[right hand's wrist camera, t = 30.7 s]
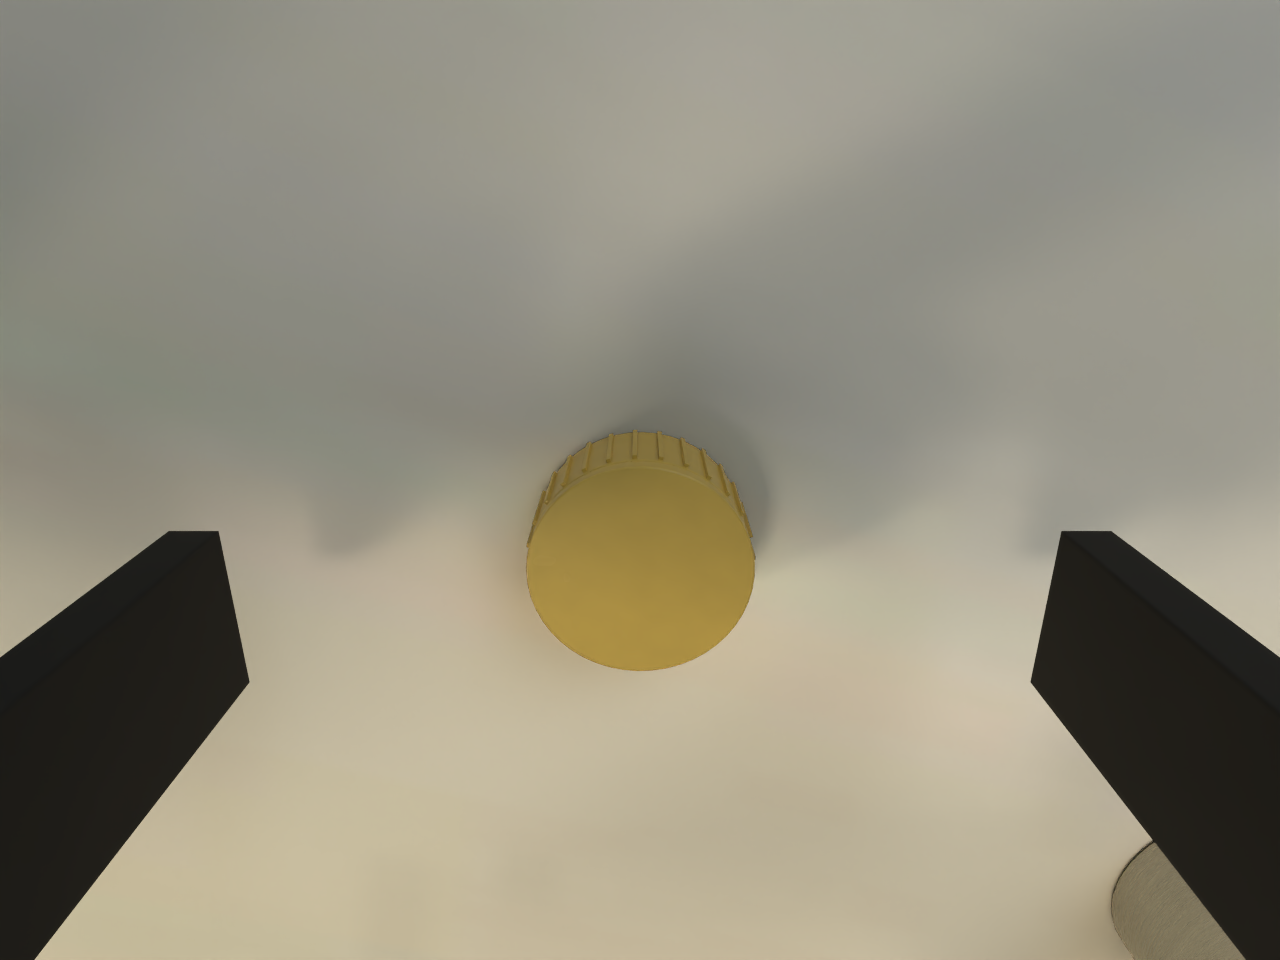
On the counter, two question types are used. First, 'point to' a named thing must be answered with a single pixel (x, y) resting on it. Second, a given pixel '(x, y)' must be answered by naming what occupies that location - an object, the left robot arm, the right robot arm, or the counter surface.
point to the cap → (640, 552)
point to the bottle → (1165, 914)
